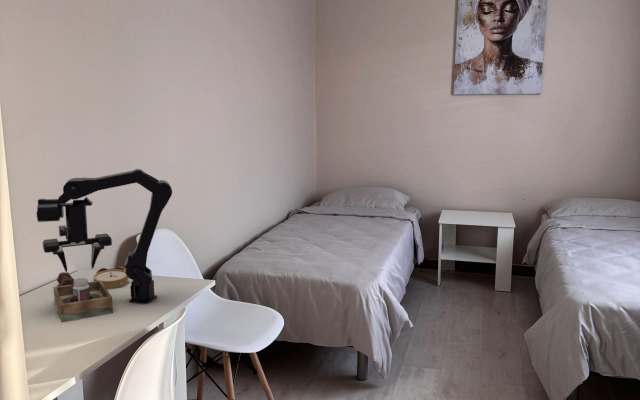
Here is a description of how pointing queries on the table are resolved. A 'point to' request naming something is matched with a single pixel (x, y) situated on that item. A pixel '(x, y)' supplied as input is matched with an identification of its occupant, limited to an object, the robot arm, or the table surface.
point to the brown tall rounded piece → (65, 279)
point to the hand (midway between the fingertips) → (79, 269)
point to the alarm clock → (112, 277)
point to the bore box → (82, 302)
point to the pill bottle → (81, 290)
